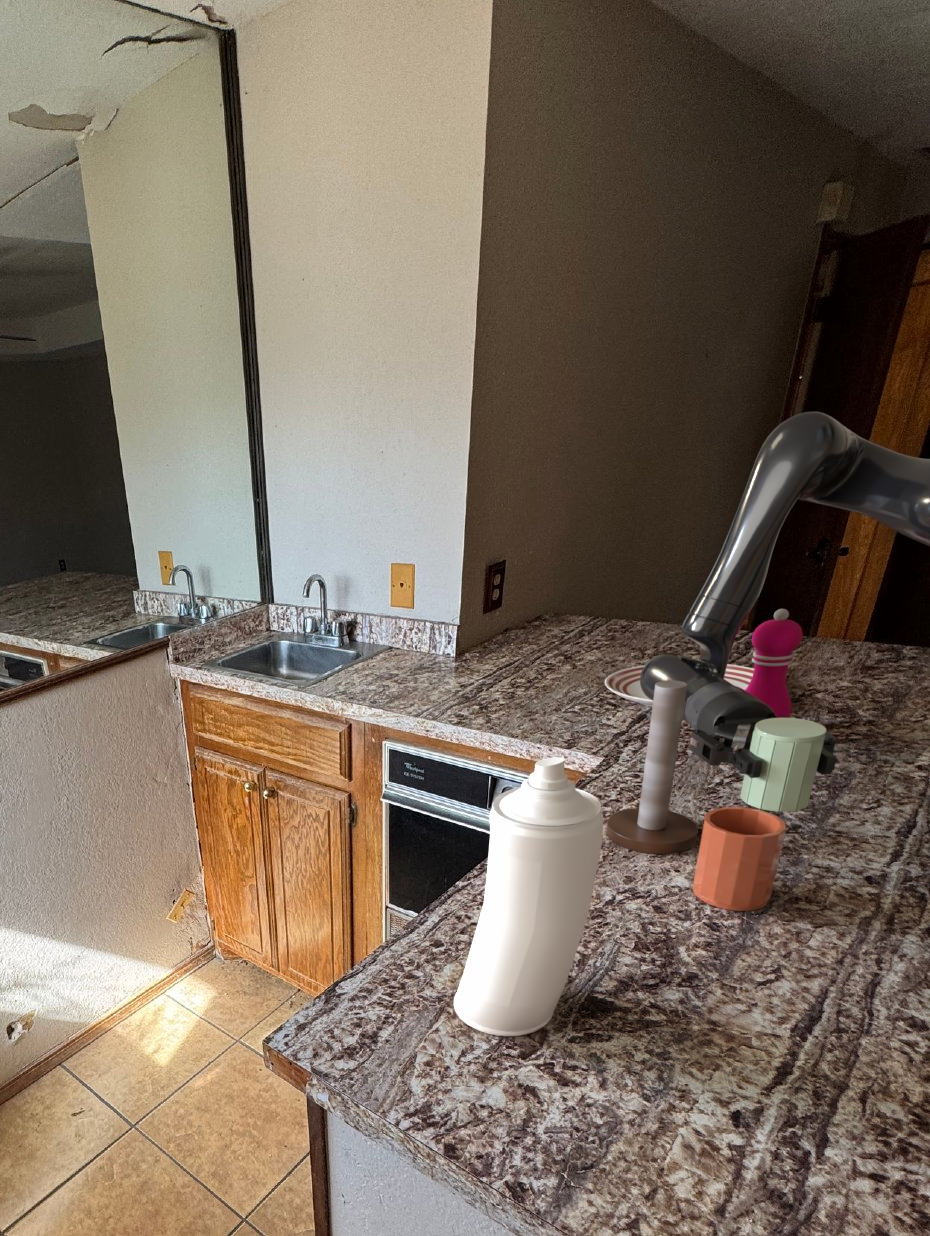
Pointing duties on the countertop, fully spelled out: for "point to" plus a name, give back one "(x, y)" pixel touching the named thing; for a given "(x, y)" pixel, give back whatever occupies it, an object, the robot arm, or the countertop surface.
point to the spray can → (531, 902)
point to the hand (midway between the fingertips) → (793, 768)
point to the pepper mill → (774, 661)
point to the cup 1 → (738, 858)
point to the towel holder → (657, 784)
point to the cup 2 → (784, 763)
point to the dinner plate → (630, 688)
